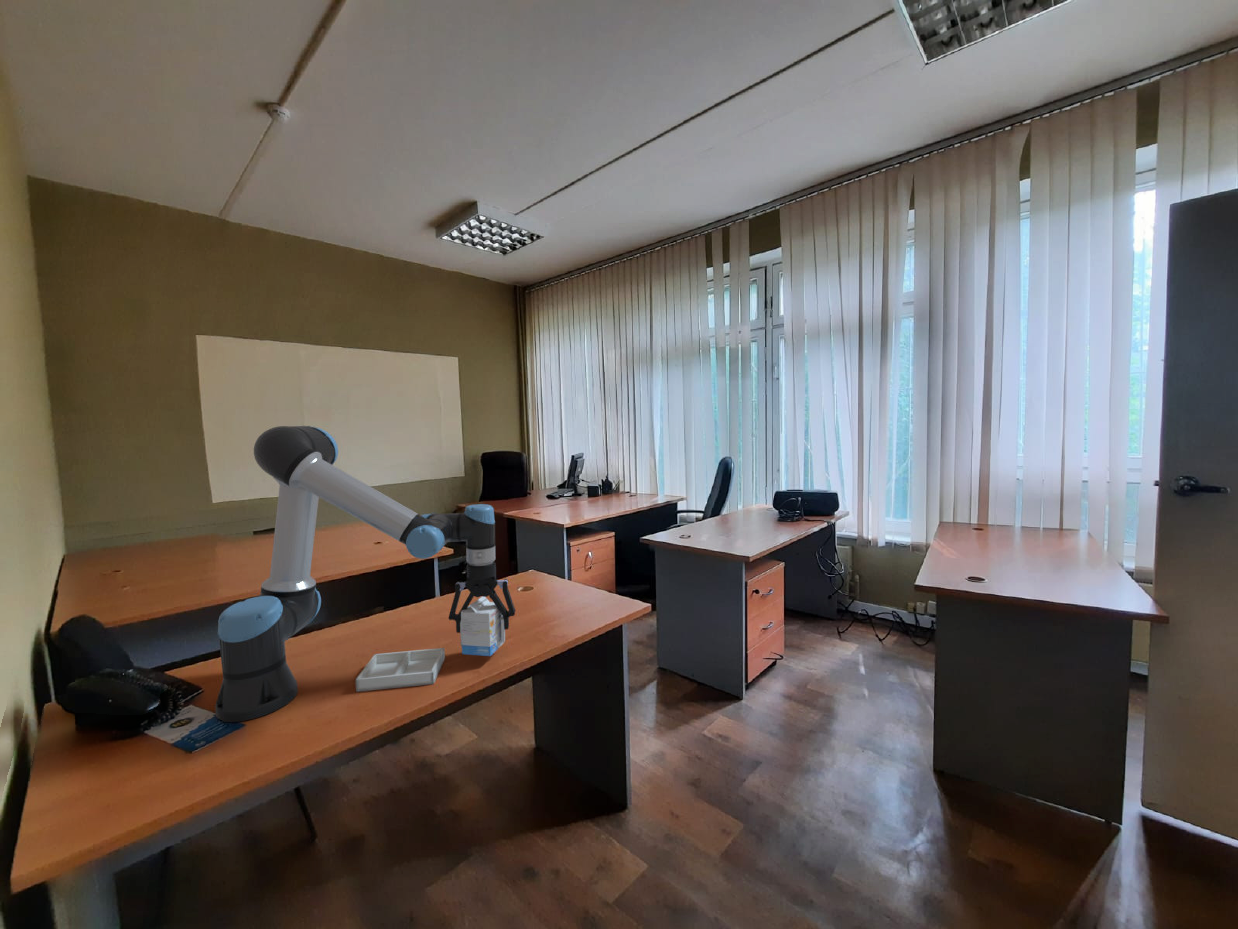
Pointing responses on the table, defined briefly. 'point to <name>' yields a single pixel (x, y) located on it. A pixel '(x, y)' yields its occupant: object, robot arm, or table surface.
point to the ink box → (481, 628)
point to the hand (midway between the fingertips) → (483, 642)
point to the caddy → (401, 669)
